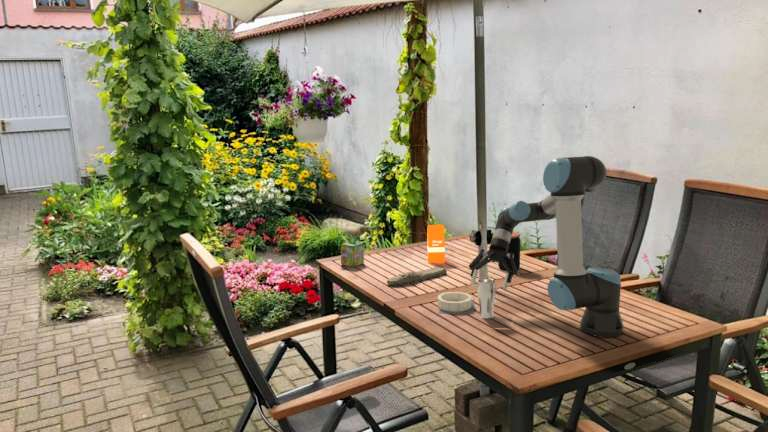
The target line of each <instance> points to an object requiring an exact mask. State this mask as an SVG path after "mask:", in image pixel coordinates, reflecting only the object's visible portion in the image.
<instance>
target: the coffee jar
mask: <svg viewBox="0 0 768 432" xmlns="http://www.w3.org/2000/svg"><path fill="white" fill-rule="evenodd" d="M520 237H521V233H519V232H516V231H513V233H512V236H511V240H510V244H509V248H508V251H507V253H510V252H513V254H514V263H515V266H516V270H517V271H518V270H519V268H520V266H521V238H520ZM504 260H505V262H506V263H507V265H508V266H509V268H510V270H511V271H513V268H512V265H511V261H510V259H509V258H508V256H507V257H506V258H505V259H504ZM497 264H498V269H499V270H501V271H504V272H505V271H506V272H508V271H507V270H506V268H505V266H504V265H503V263H502V262H499V263H497Z"/></svg>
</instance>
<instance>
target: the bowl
mask: <svg viewBox="0 0 768 432" xmlns="http://www.w3.org/2000/svg"><path fill="white" fill-rule="evenodd" d="M472 300H473V297H472V295H471V294H469V293H467V292H461V291H448V292H447V291H446V292H442V293H439V294H438V295H437V309H439V310H440V309H441V310H443V311H447V312H463V311H467V310H469V309H471V307H472Z"/></svg>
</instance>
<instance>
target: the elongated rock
mask: <svg viewBox="0 0 768 432" xmlns="http://www.w3.org/2000/svg"><path fill="white" fill-rule="evenodd" d="M447 273H448V271H447V269H446V267H433V268H429V269H428V268H427V269H424V270H419V271H408V272H404V273H399V274H398V275H395V276H392V277H391V278H388V279H387V280H386V283H387V285H388V286H393V285H394V286H393V287H395V285H397V286H404V285H403V284H406V285H409V284H408V283H412V284H415V283H418V282H421V281H423V280H429V279H431V278H432V279H433V278H437V276H438V277H441V276H444V275H446V274H447ZM440 275H441V276H440ZM417 281H418V282H417ZM414 282H415V283H414Z"/></svg>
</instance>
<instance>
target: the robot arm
mask: <svg viewBox="0 0 768 432" xmlns="http://www.w3.org/2000/svg"><path fill="white" fill-rule="evenodd" d="M606 179H607V167H606V166H605V164H604V162H603V161H601V160H600V159H599V158H597V157H595V156H591V155H584V156H572V157H571V156H570V157H565V156H564V157H558V158H553V159H551V160H550V161H549V162H548V163H547V165H546V166H545V168H544V169H543V174H542V181H543V185H544V188H545V190H546V191H547V192H549V193H550V194H549V195H547V196H546V197H545V198H544V199H542V200H541V201H538V202H531V203H530V202H529V203H528V202H525V201H523V200H518V201H516V202H514V203H513V204H512V205H510V206H509V207H505V208H502V209H500V211H499V214H498V215H497V220H496V224H495V228H494V231H493V235H492V238H491V241H490V243H489V244H490V245H489V248H488V250H485V249H484V248H482V249H480V252H479V254H478V255H477V256H476V257H474V259H473V260H472V261H471V262H470V264H469V265H468V268H469V270H471V271H470V277H471V279H470V285H471V287H474V286H475V284H476V280H477V277H478V274H479V273H478V271H479V270H480V269H481V268H483V267H485V266H486V265H487V264H489V263H497V264H498V263H499V262H502V263H503V265H504V266H505V268H506V270H507V271H506V274H505V278H504V281H503V285H502V289H503V291H504V292H505V291H507V288H508V284H510V283H511V282H512V278H513V276H518V270H516V266H515V263H514V254H513V252H510V253H507V251H508V248H509V244H510V240H511V236H512V233H513V232H514V229H515V227H516V226H518V225H519V224H521V223H528V222H537V221H539V222H540V221H549V220H553V219H555V222H556V227H555V228H556V249H557V250H556V251H557V267H556V269H554V271H553V278H551V279H550V280H549V281H548V283H547V293H548V294H547V295H548V296H549V299H550V301H551V303H552V304H553V306H554V307H555V308H557V309H558V310H561V311H573V310H577V309H582V308H585V310H584V312H583V314H582V317H581V319H580V322H579V323H580V324H579V329H580V330H582V333H584V332H585V333H584V334H586V333H587V334H586V335H589V334H591V335H590V336H592V335H596V336H602V337H601V338H604V337H611V338H616V337H615V336H617V337H620V336H622V335H623V334H624V331H625V330H624V323H623V320H622V316H621V313H620V305H621V303H620V302H621V301H620V300H621V286H622V283H621V280H622V279H621V274H620V273H619V272H618V271H615V270H613V269H610V268H604V267H597V266H595V267H593V266H592V267H588V268H587V269H586V268H585V267H584V259H583V258H584V256H583V254H584V253H583V252H584V251H583V249H584V248H583V231H582V230H583V229H582V227H583V226H582V225H583V224H582V222H583V221H582V199H583V198H585V196H586V194H587V193H592V192H594V191H595V190H598V189H599V188H600V187H601V186H603V184H604V182H605V181H606ZM507 256H508V258H509V259H510V261H511V265H512V268H513V271H511V270H510V268H509V266H508V265H507V263H506V262H505V260H504V259H505V258H506V257H507ZM622 333H623V334H622ZM621 334H622V335H621ZM619 335H620V336H619ZM596 336H595V337H596Z"/></svg>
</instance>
